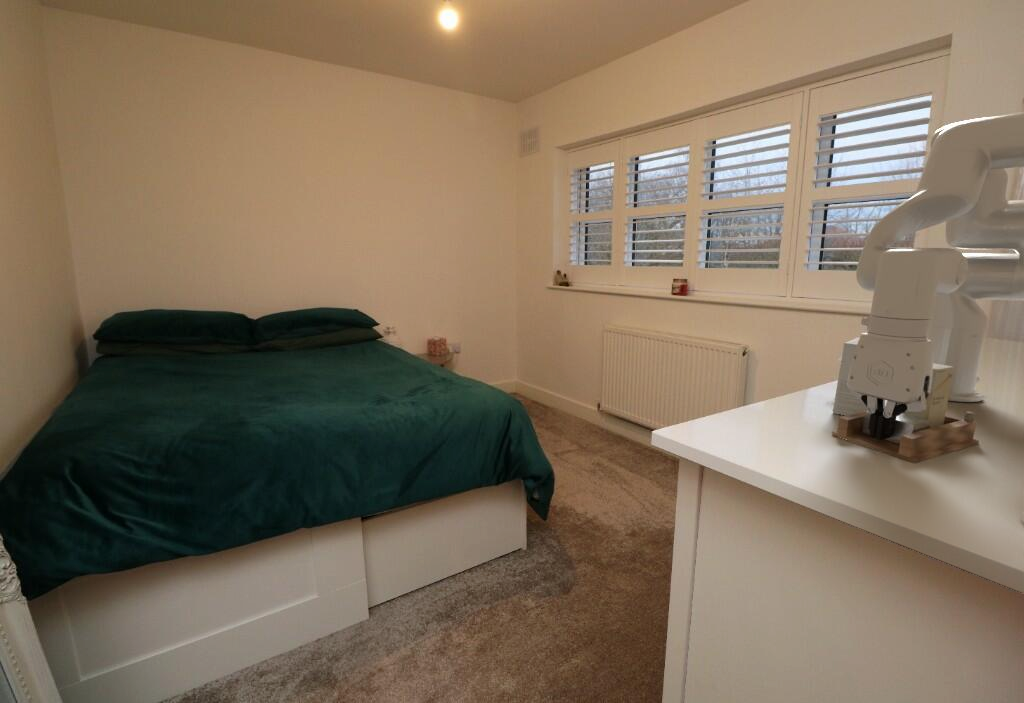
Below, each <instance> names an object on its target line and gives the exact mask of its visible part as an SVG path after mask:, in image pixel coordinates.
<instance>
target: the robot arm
mask: <svg viewBox="0 0 1024 703" xmlns="http://www.w3.org/2000/svg"><path fill="white" fill-rule="evenodd" d="M1013 168H1024V111H1023V112H1022V111H1021V112H1015V113H1010V114H1003V115H996V116H995V115H994V116H987V117H981V118H974V119H969V120H968V119H966V120H963V121H958V122H954V123H950V124H948V125H944V126H942V127H941V128H939V129H937V130H936V131H935V132H934V133H933V135H932V137H931V140H930V152H929V154H928V158H927V160H926V163H925V166H924V168H923V171H922V174H921V176H920V179H919V181H918V184H917V187H916V190H915V193H914V195H913V196H911V197H910V198H908V199H907V200H905V201H903V202H902V203H900V204H898V205H897V206H896V207H894V208H893V209H892V210H890V211H889V212H888V213H887V214H886V215H884V216H883V217H882V218H881V219H880V220H878V222H876V224H874V226H873V227H872V229H871V230H870V232H869V233H868V236H867V238H866V240H865V243H864V245H863V249H862V250H861V254H860V256H859V259H858V263H857V266H856V272H855V273H856V274H855V276H856V281H857V285H858V286H860V288H862V289H864V290H866V291H869V292H873V296H872V303H871V308H870V314H869V315H868V316H867V317H866V316H863V317H862V318H861V321H860V323H861V324H860V325H862V326H866V327H867V328H866V331H867V332H861V334H860V339H859V341H858V343H857V346H856V349H855V352H854V355H853V358H852V362H851V366H850V371H849V375H848V382H847V385H848V388H849V389H850V394H851V395H853V396H855V397H857V398H859V399H861V400H862V401H863V402H864V404H865V405H866V406H867V410H868V412H869V413H871V415H870V421H869V427H868V429H869V430H870V433H869V437H871V438H876V439H878V440H883V439H887V438H890V437H891V436H892V435H893V433H894V428H895V422H896V416H899V415H900V414H902V413H904V412H906V411H908V412H921V411H925V410H926V399H927V398H928V397H929V394H930V389H931V383H932V373H933V363H934V364H941V365H947V366H953V367H954V369H953V375H952V380H951V386H950V391H949V397H948V401H950V402H961V403H976V402H977V403H978V402H981V401H983V397H984V395H983V393H981V392H979V391H977V390H975V388H976V384H978V383H979V382H980V381H981V380H980V377H979V376H978V373H979V368H980V363H981V358H982V352H983V348H984V343H985V338H986V334H987V329H988V328H987V327H988V324H989V322H988V321H989V320H988V316H987V314H986V313H985V311H984V310H983V309H982V308H981V306H980V305H979V304H978V303H977V302H976V300H998V301H999V300H1001V301H1002V300H1003V301H1024V199H1019V200H1018V199H1016V200H1013V199H1012V200H1008V199H1007V197H1006V196H1007V195H1006V194H1007V188H1008V180H1009V176H1008V172H1007V171H1006V169H1013ZM942 223H945V231H944V232H945V241H946V243H947V245H949V246H950V247H948V248H947V247H892V246H893V245H894V244H895V243H896V242H897V241H899V240H901V239H903V238H904V237H906V236H909V235H911V234H914V233H915V232H918V231H922V230H924V229H928V228H930V227H934V226H937V225H940V224H942ZM954 248H955V249H954ZM957 249H959V250H960V249H961V250H1011V251H1012V250H1013V251H1015V253H1007V252H1006V253H1005V252H1003V253H992V252H968V253H967V252H966V253H965V252H963V253H962V252H961V251H959V250H957Z"/></svg>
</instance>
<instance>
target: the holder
mask: <svg viewBox="0 0 1024 703" xmlns="http://www.w3.org/2000/svg"><path fill="white" fill-rule="evenodd" d="M864 415H865V412H862V413H857V414H852V415H848V416H843V415H842V416H840V417H839V419H838V424H837V430H836V431H832V433H831V435H832V436H833V435H834V436H833V437H836V436H837V437H836V438H839V437H841V438H840V439H842V438H844V439H843V440H845V439H847V440H846V441H848V440H850V441H849V442H851V441H853V442H852V443H854V442H855V443H854V444H857V443H858V444H857V445H860V444H861V445H860V446H863V445H864V446H863V447H865V446H868V447H870V449H871V448H873V449H872V450H874V449H876V450H875V451H877V450H879V451H878V452H880V451H882V452H881V453H883V452H885V453H884V454H886V453H887V454H886V455H889V454H890V456H893V457H895V456H896V458H899V459H902V460H905V461H907V462H910V463H914V464H916V463H919V462H922V461H925V460H929V459H931V458H936V457H939V456H942V455H944V454H945V455H946V454H948V453H951V452H955V451H958V450H962V449H965V448H968V447H971V446H976V445H978V444H979V442H980V440H979V439H976V438H974V436H975V430H976V426H977V421H975V416H976V413H975V412H974V411H973V412H972V411H965V412H964V418H962V417H958V416H955V415H949V414H945V420H944V425H941V426H937V427H933V428H929V429H925V430H922V431H918V432H914V433H910V434H906V435H902V436H901V441H900V444H898V443H895V442H891V441H888V440H885V439H883V440H878V439H876V438H871V437H869V434H866V433H863V432H862V428H863V422H864ZM868 447H867V448H868Z"/></svg>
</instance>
